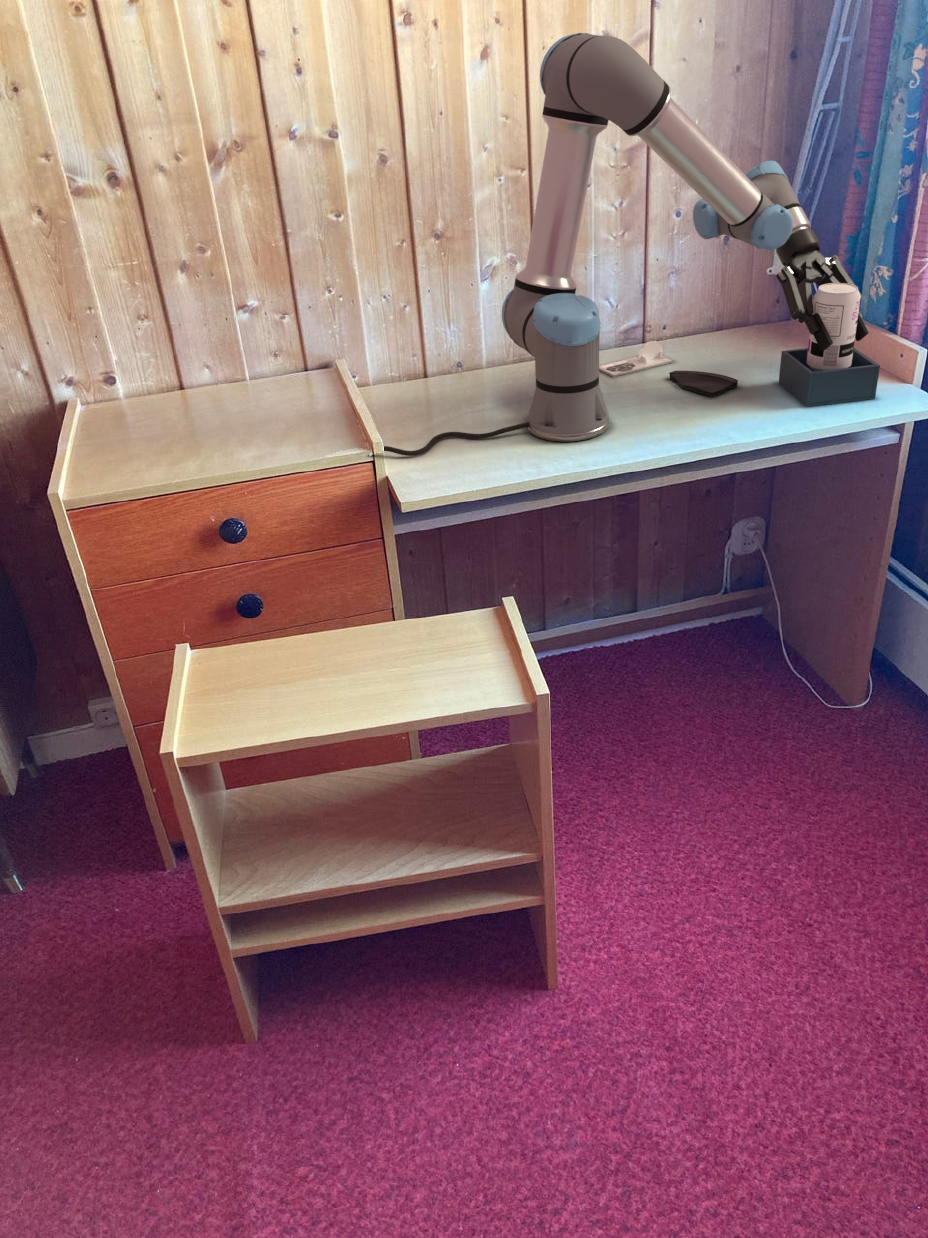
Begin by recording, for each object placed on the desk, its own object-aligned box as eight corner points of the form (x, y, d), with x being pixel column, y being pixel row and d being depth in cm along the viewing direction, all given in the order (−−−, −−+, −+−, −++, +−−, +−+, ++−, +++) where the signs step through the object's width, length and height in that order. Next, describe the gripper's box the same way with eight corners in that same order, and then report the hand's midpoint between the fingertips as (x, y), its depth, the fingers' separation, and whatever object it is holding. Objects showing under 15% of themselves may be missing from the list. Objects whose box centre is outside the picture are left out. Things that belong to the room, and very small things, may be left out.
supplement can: (799, 361, 204) (808, 284, 196) (840, 357, 205) (850, 280, 197) (815, 375, 197) (825, 295, 189) (858, 371, 198) (869, 291, 190)
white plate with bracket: (653, 354, 228) (654, 333, 226) (672, 362, 223) (673, 341, 221) (596, 368, 223) (596, 347, 220) (613, 376, 218) (613, 355, 215)
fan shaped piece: (689, 371, 218) (690, 364, 217) (739, 387, 208) (740, 379, 207) (661, 381, 214) (661, 373, 213) (710, 398, 204) (711, 390, 203)
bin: (806, 406, 197) (810, 373, 194) (778, 383, 209) (781, 350, 205) (875, 399, 198) (880, 365, 195) (843, 375, 210) (847, 343, 206)
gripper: (823, 241, 206) (873, 340, 203) (739, 259, 199) (790, 364, 195) (846, 217, 199) (899, 320, 196) (761, 235, 192) (814, 343, 188)
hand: (845, 341), depth 196 cm, fingers closed on supplement can, 8 cm apart
